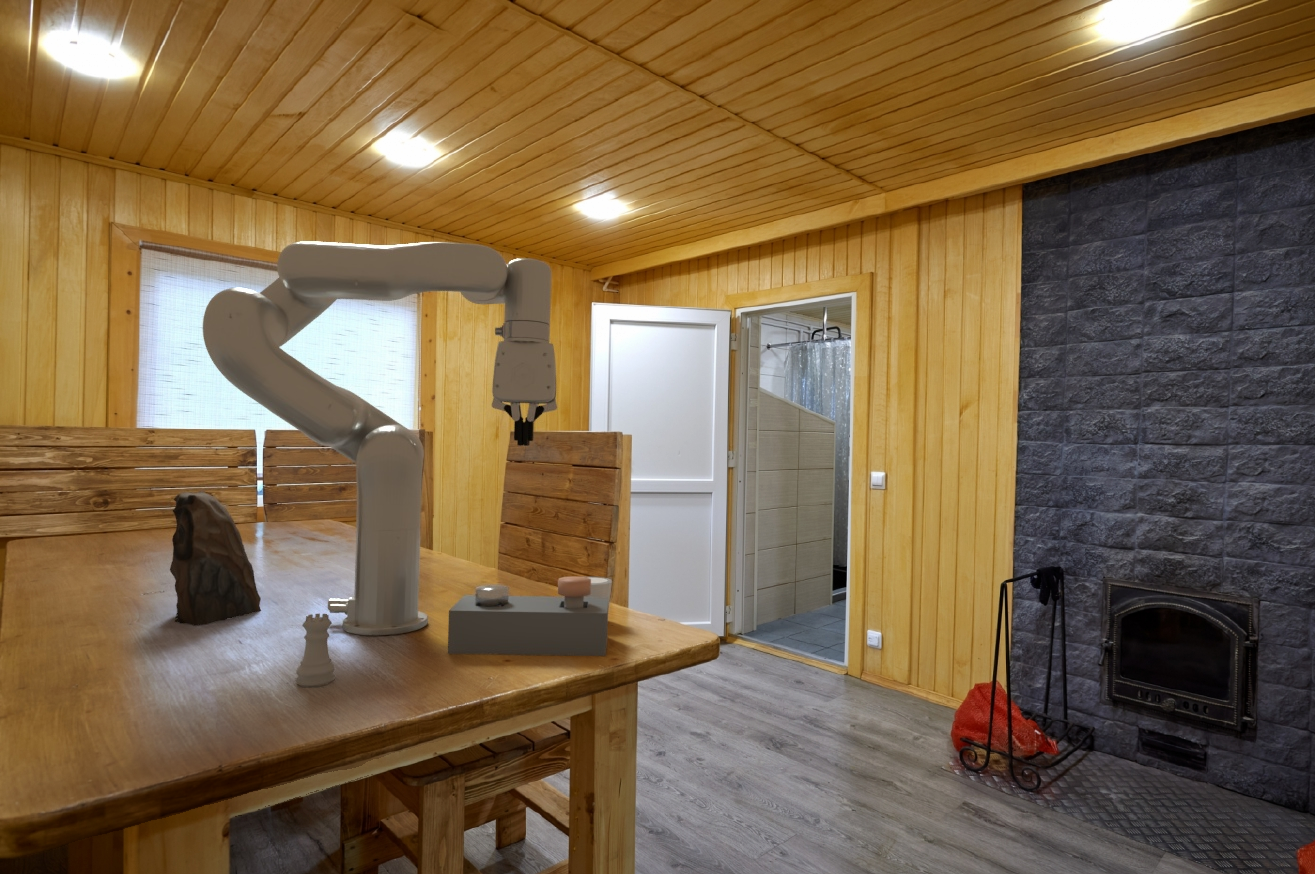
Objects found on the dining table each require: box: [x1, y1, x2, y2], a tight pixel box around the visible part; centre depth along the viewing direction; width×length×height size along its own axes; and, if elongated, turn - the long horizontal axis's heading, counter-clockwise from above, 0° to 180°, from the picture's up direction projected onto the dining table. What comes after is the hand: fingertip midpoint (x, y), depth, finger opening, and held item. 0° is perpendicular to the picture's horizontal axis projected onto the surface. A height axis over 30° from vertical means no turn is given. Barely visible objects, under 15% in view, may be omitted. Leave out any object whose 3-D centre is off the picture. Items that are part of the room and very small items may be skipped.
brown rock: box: [169, 490, 262, 627], centre depth 116 cm, size 13×13×20 cm
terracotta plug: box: [557, 576, 591, 608], centre depth 105 cm, size 5×5×8 cm
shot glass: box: [584, 576, 613, 612], centre depth 120 cm, size 7×7×7 cm
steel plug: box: [474, 584, 510, 606], centre depth 105 cm, size 5×5×8 cm
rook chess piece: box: [294, 613, 336, 688], centre depth 87 cm, size 4×4×8 cm
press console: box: [447, 594, 609, 657], centre depth 105 cm, size 22×10×6 cm, turn 93°
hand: (523, 445), depth 119 cm, fingers closed
